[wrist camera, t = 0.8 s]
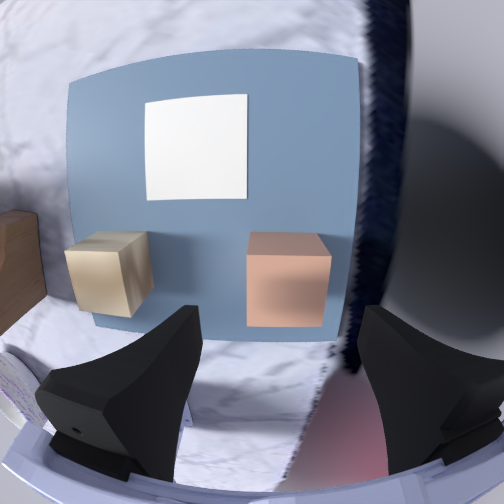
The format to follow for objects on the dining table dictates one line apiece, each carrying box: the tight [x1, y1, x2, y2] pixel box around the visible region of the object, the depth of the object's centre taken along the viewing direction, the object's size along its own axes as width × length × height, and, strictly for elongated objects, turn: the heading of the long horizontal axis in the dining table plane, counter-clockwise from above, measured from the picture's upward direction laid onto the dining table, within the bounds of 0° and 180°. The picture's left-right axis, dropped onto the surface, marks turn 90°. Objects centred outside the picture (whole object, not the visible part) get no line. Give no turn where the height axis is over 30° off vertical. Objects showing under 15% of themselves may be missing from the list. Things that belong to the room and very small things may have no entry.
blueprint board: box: [66, 49, 360, 342], centre depth 18 cm, size 22×22×1 cm
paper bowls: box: [0, 352, 48, 429], centre depth 25 cm, size 15×15×8 cm
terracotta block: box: [247, 232, 332, 327], centre depth 17 cm, size 4×4×4 cm
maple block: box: [65, 231, 154, 318], centre depth 17 cm, size 4×4×4 cm
